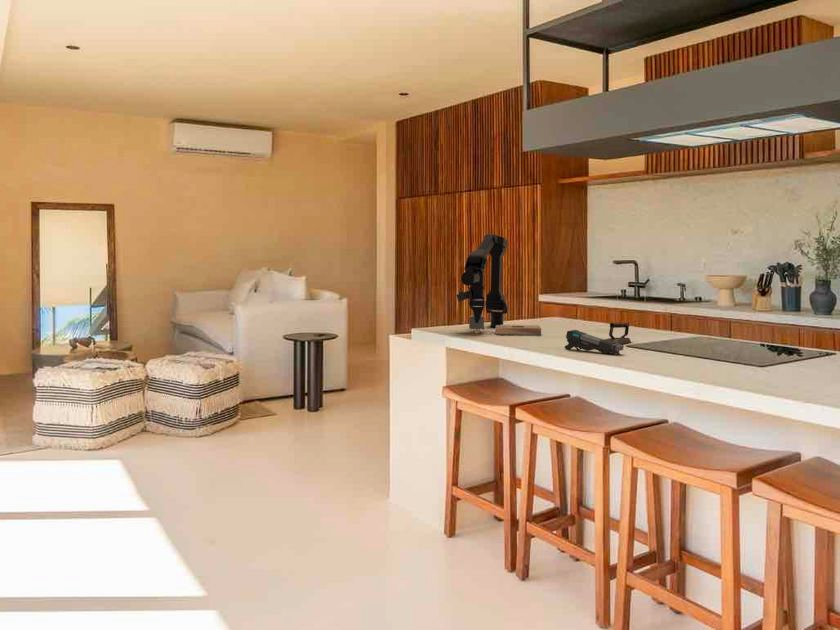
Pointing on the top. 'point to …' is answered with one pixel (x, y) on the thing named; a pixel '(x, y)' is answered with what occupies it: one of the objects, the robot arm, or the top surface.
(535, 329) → the socket box
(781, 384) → the top surface
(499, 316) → the robot arm
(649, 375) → the top surface
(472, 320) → the dark grey block
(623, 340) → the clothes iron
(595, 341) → the gun
